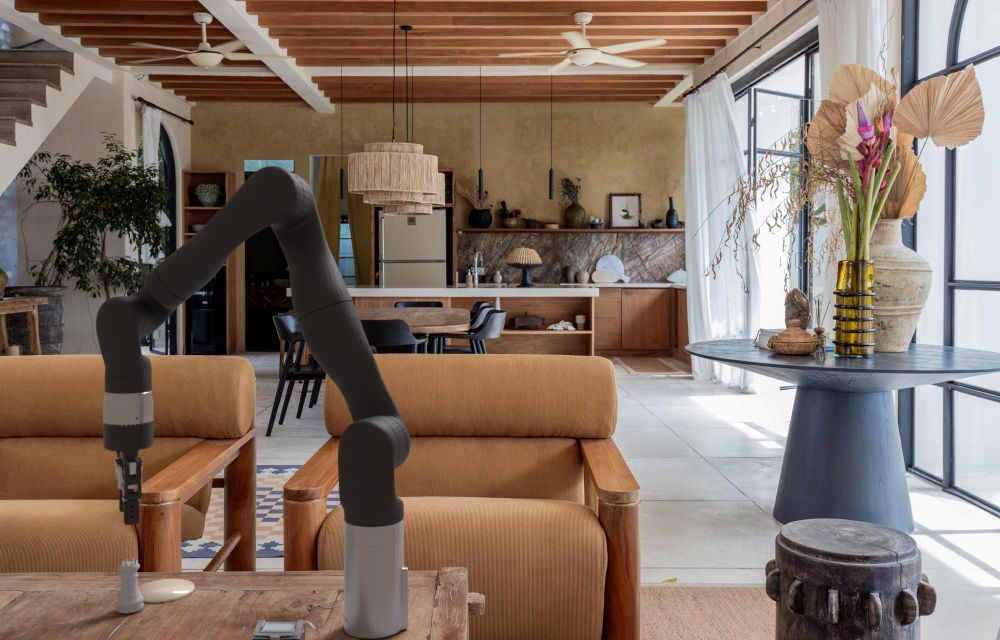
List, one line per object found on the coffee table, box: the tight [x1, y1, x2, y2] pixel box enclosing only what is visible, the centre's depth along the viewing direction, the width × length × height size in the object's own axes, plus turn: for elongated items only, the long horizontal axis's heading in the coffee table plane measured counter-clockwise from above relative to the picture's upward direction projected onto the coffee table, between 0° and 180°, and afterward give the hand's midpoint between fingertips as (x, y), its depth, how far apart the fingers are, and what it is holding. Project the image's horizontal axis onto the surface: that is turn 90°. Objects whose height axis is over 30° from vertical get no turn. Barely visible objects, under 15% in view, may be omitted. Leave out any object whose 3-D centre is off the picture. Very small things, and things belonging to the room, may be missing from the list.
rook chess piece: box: [114, 558, 145, 615], centre depth 141 cm, size 4×4×8 cm
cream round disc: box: [138, 578, 195, 604], centre depth 149 cm, size 10×10×1 cm
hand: (128, 517), depth 140 cm, fingers open, 8 cm apart
